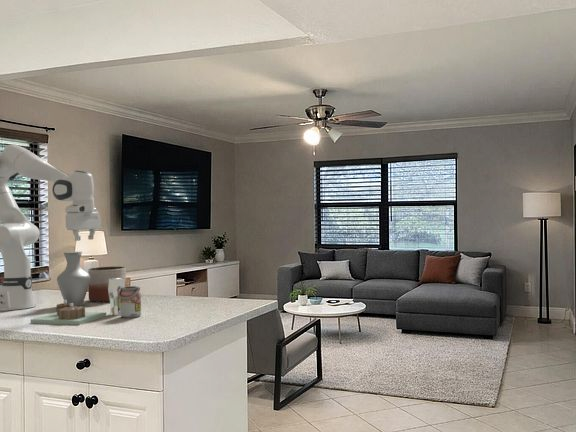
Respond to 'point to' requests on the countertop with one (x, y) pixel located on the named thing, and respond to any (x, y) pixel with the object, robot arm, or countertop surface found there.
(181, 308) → the countertop surface
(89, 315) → the board
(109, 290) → the beer glass
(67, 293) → the vase
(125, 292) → the beverage can
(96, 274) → the planter
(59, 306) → the gear
